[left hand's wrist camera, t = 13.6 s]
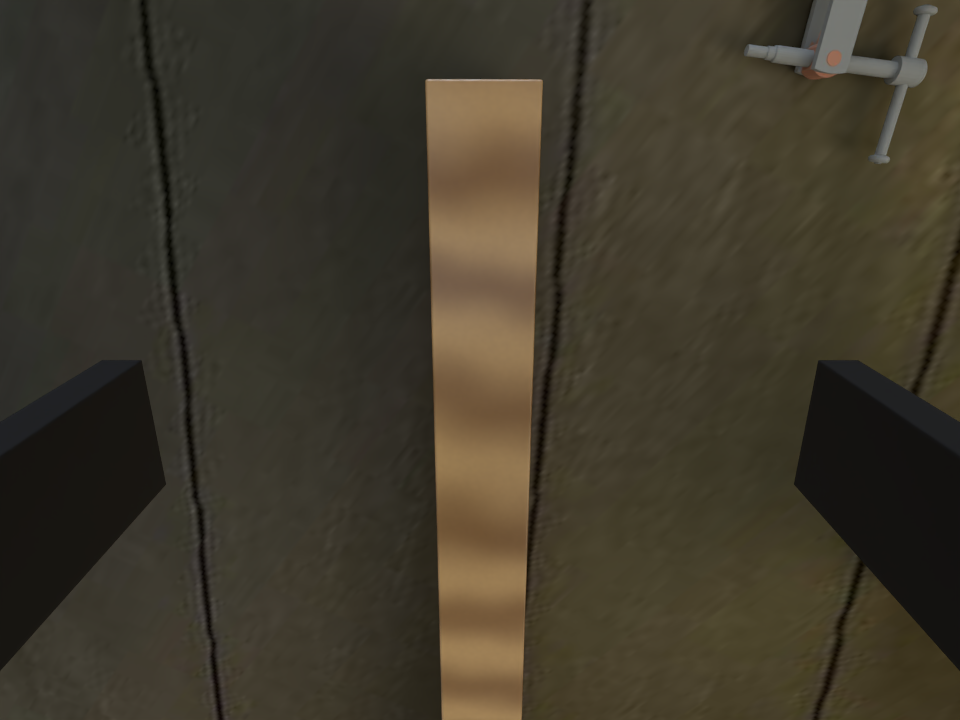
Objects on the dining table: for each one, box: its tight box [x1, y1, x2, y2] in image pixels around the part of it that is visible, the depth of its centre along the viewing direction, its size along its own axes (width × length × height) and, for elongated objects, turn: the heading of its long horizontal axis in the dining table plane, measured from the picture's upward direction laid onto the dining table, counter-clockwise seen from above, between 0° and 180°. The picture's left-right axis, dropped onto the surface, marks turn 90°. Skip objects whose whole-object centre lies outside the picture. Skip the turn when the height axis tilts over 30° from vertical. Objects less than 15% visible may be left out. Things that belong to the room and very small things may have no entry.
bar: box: [425, 79, 543, 720], centre depth 37 cm, size 50×5×8 cm, turn 0°
